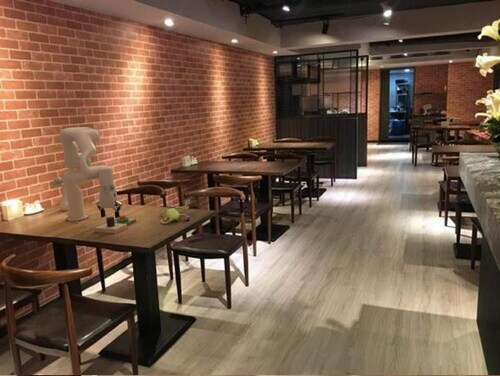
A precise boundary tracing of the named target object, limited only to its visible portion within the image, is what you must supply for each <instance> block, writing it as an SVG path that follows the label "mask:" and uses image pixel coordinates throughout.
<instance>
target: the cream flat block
mask: <svg viewBox="0 0 500 376" xmlns="http://www.w3.org/2000/svg"><path fill="white" fill-rule="evenodd" d="M126 229H128V226H127V224H117V223H115V226H113V227H107V222H106V223H102V224H101V225H98V226H96V227H94V232H95V233H105V234H117V233H120V232H121V231H124V230H126Z"/></svg>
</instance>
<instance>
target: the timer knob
mask: <svg viewBox="0 0 500 376" xmlns="http://www.w3.org/2000/svg"><path fill="white" fill-rule="evenodd" d="M105 220H106V221H105V222H106V223H107V227H113V226H115V221H114V220H115V216H107V217H106V218H105Z"/></svg>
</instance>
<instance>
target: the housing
mask: <svg viewBox="0 0 500 376" xmlns="http://www.w3.org/2000/svg"><path fill="white" fill-rule="evenodd" d="M125 217H126V218H124V219H119V218H115V219H114V221H115V223H117V224H127V227H128V226H130V225H132V224H134V223H136V222H137V219H136V218H129V217H128V216H125Z"/></svg>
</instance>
